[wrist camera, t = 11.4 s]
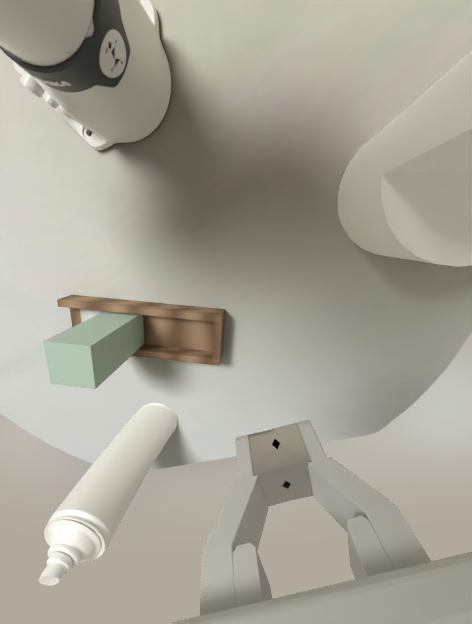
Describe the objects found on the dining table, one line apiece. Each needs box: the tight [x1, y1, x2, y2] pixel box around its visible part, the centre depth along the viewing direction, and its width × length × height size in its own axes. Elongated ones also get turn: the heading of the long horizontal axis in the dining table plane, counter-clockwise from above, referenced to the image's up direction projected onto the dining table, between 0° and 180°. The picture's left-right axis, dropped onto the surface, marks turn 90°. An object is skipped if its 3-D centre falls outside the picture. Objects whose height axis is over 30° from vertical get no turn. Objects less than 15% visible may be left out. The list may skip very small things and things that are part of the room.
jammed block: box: [44, 311, 144, 389], centre depth 37 cm, size 6×6×14 cm
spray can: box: [39, 403, 178, 585], centre depth 40 cm, size 12×11×25 cm
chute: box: [57, 295, 225, 365], centre depth 43 cm, size 28×9×4 cm, turn 86°
